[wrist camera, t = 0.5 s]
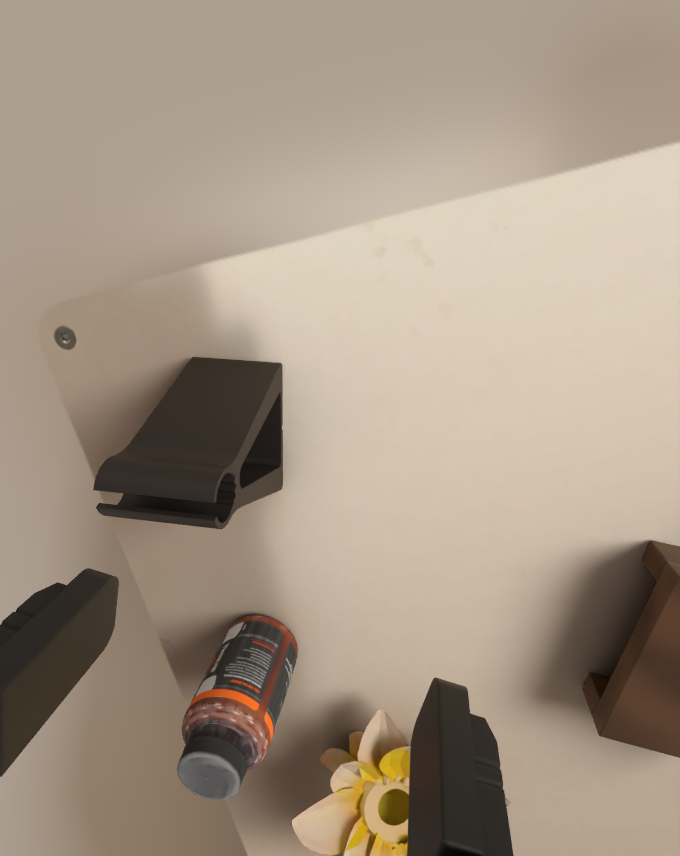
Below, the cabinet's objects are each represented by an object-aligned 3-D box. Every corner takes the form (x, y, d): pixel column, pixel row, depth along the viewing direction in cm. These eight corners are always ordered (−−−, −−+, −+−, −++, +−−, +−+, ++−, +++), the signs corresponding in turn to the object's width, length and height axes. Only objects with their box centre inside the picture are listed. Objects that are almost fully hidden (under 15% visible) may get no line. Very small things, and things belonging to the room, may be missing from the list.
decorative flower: (545, 804, 39) (542, 975, 31) (448, 831, 46) (424, 979, 38) (397, 680, 39) (354, 820, 31) (320, 724, 45) (268, 850, 37)
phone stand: (282, 487, 36) (218, 594, 25) (202, 478, 37) (104, 578, 26) (283, 362, 33) (210, 419, 22) (195, 355, 34) (81, 407, 23)
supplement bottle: (219, 612, 41) (147, 740, 30) (290, 608, 39) (241, 739, 29) (238, 672, 42) (176, 812, 32) (307, 670, 41) (266, 814, 31)
